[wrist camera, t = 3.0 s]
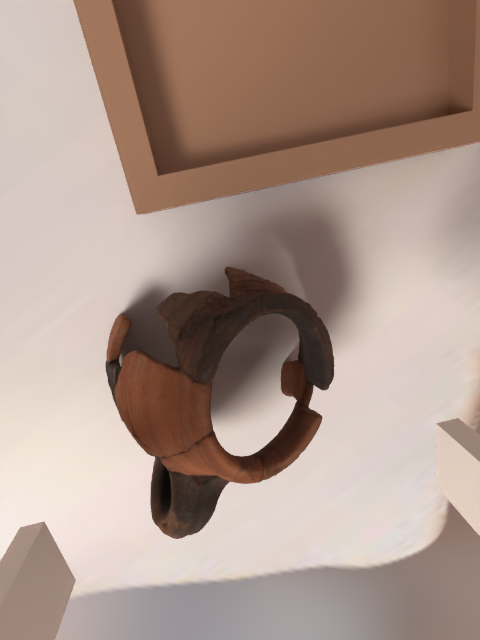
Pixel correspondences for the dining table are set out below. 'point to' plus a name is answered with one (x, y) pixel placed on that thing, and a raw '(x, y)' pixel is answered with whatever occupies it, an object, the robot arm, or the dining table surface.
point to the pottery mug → (195, 395)
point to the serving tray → (278, 88)
